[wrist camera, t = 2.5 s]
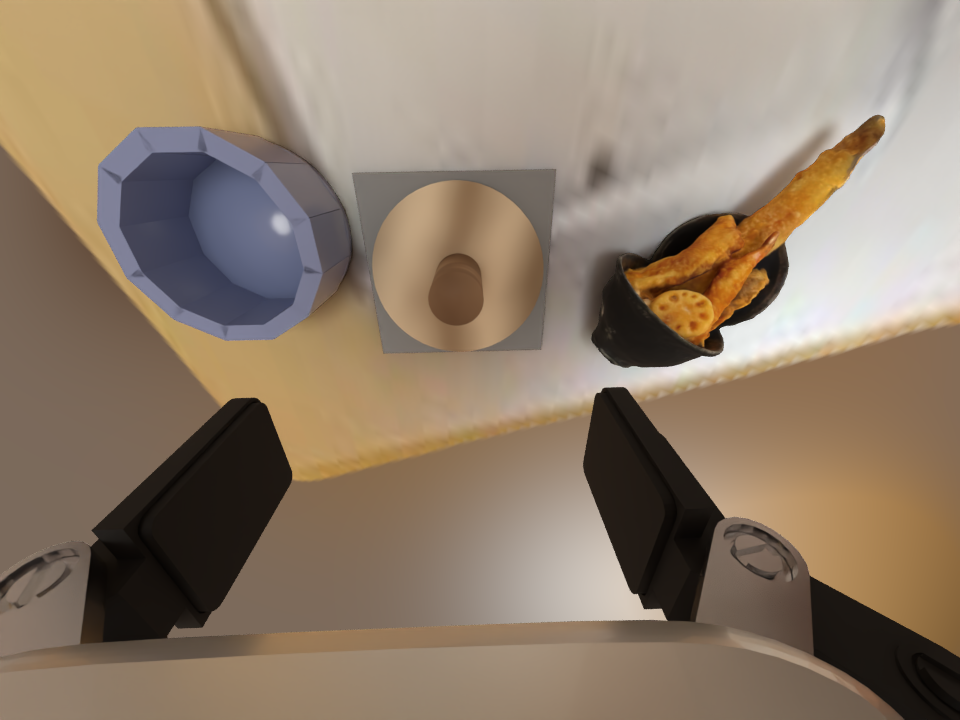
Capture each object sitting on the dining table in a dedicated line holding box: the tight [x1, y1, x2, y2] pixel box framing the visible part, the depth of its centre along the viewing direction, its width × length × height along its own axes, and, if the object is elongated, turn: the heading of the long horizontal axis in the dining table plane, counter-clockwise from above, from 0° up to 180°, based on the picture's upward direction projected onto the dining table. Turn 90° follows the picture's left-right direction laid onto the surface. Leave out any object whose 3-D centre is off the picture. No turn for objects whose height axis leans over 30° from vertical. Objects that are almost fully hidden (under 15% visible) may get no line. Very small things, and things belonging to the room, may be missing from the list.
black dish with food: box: [591, 115, 885, 368], centre depth 21 cm, size 9×11×18 cm
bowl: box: [97, 127, 352, 341], centre depth 21 cm, size 11×11×6 cm
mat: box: [352, 169, 556, 353], centre depth 25 cm, size 13×13×1 cm
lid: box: [372, 180, 543, 352], centre depth 22 cm, size 12×12×6 cm
